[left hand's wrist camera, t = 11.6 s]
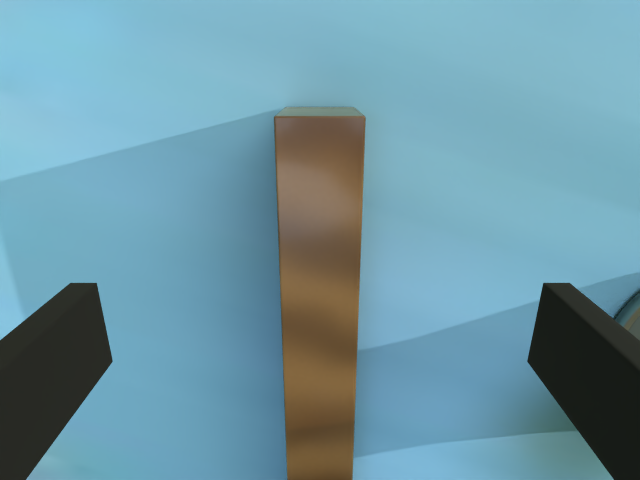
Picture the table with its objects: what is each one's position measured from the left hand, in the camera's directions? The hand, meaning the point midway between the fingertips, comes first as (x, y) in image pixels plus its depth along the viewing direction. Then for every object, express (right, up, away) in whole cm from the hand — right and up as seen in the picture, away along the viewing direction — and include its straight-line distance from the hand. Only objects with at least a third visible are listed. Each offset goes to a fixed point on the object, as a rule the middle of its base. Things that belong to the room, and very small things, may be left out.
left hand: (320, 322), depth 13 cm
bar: (0, -19, +28) cm, 34 cm away
